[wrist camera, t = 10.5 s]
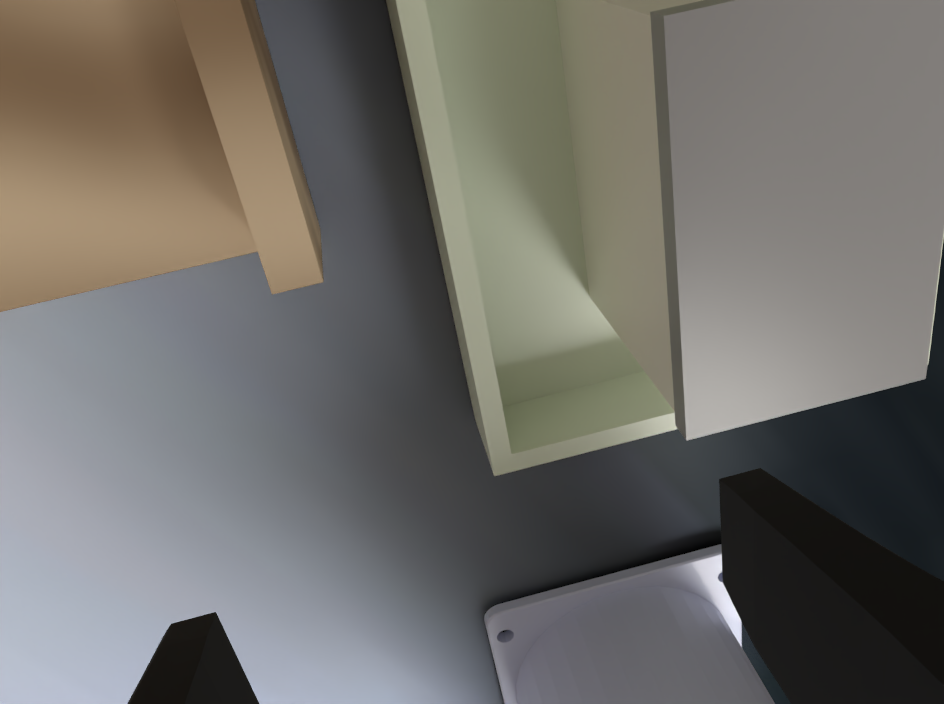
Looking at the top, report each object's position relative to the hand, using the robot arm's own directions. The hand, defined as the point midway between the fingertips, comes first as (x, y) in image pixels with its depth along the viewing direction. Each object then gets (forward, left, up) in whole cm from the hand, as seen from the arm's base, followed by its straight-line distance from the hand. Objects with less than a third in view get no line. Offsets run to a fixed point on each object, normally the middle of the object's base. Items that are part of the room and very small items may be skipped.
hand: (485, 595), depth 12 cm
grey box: (+3, -7, -9) cm, 11 cm away
